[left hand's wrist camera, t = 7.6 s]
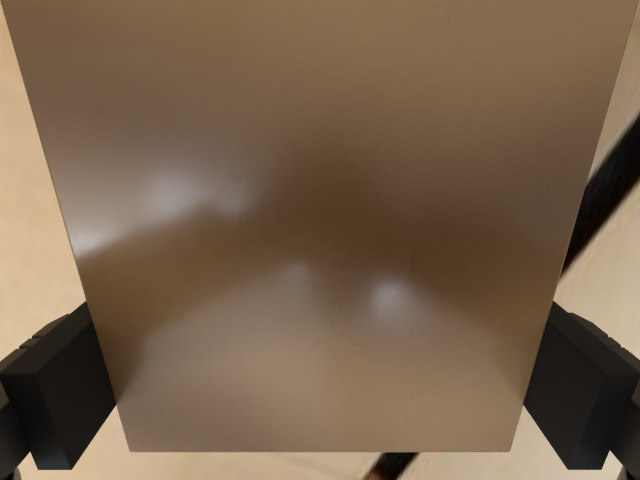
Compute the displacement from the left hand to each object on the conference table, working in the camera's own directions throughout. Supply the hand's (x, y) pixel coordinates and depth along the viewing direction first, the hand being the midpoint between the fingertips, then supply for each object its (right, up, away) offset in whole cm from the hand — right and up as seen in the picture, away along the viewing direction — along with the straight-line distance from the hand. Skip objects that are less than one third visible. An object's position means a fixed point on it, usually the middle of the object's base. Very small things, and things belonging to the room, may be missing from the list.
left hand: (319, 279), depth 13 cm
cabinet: (0, +7, +4) cm, 8 cm away
